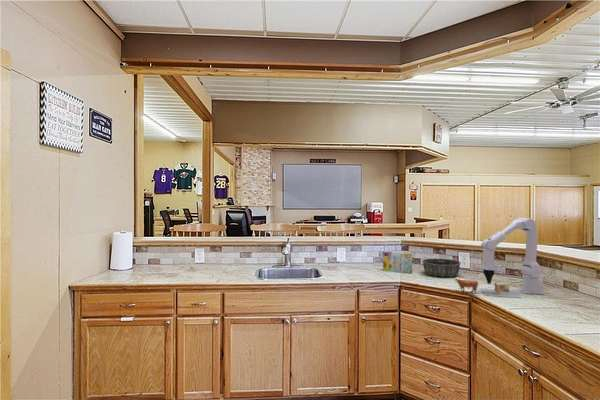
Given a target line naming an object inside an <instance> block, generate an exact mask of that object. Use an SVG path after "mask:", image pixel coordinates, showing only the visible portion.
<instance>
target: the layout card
mask: <svg viewBox="0 0 600 400" xmlns="http://www.w3.org/2000/svg"><path fill="white" fill-rule="evenodd" d="M480 290H481V292H482V294H484V296H486V297H499V298H513V299H522V296H520V294H518V293H517V292H516V291H515V290H510V289H509V292H502V291H499V293H497V292H496V291H495V288H494V289H492V288H491V289H490V288H480Z"/></svg>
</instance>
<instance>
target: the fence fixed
mask: <svg viewBox="0 0 600 400" xmlns="http://www.w3.org/2000/svg"><path fill="white" fill-rule="evenodd" d="M495 284H497V282H494V285H495ZM497 285H498V286H499V291H502V292H509V290H510V284H500V283H498V284H497Z"/></svg>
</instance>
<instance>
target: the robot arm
mask: <svg viewBox="0 0 600 400" xmlns="http://www.w3.org/2000/svg"><path fill="white" fill-rule="evenodd" d="M516 230H522V231H523V232H524V233H525V234H526V238H525V239H526V240H525V255H524V256H525V257H524V261H522V262H521V263H522V264H521V266H520V273H521V275H522V281H523V283H522V285H523V286H522V287H523V288H522V289H520V290H521V291H522V292H523V293H524V294H531V295H532V294H533V295H544V281H543V279H542V278H541V277H540V276H541V275H542V273H541V269H540V264H539V263H538V262H537V254H538V253H537V252H538V238H539V236H538V235H539V231H538V228H537V222H536V220H535V219H533V218H531V217H528V218H527V217H516V219H514V220H512V222H511V223H510V224H508V226H506V227H504V229H502V230H501V231H495V232H494V233H493V234H492V235H490V236H488V238H486V239H483V240H482V242H481V244H480V246H481V247H482V251H483V256H482V257H483V259H482V260H483V263H482V264H483V265H482V266H479V265H475V268H474V269H475V270H476V271H477V270H479V271H482V272H483V275H484V277H485V279H486V283H487V284H492V280H493V276H494V275H495V273H500V274H501V273H504V268H499V267H495V250H496V249H497V247H498V245H499V244H500V243H502V242H503V241H505V240H506V236H508V235H510V234H511V233H513V232H515V231H516Z"/></svg>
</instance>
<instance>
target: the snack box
mask: <svg viewBox="0 0 600 400" xmlns="http://www.w3.org/2000/svg"><path fill="white" fill-rule="evenodd" d="M382 254H383V257H382V258H383V259H382V260H383V261H382V265H383V266H382V269H383V271H384V272H390V271H391V272H392V273H401V274H402V273H403V274H412V273H413V252H405V251H392V250H385V251H383V253H382ZM391 272H390V273H391Z"/></svg>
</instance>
